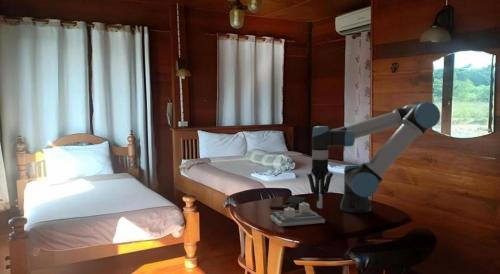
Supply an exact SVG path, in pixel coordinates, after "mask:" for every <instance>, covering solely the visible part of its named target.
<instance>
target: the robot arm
mask: <svg viewBox="0 0 500 274" xmlns="http://www.w3.org/2000/svg"><path fill="white" fill-rule="evenodd" d="M440 119H441V112H440V108H438V106H437V105H436V104H435V103H433V102H429V101H414V102H411V103H409V104H406V105H404V106H401V107H398V108H395V109H393V110H392V111H391V112H389V113H388V112H387V113H385V114H382V115H378V116H375V117H371V118H368V119H365V120H360V121H358V122H355V123H351V124H348V125H345V126H341V127H340V126H339V127H338V128H337V127H335V128H332V129H331V130H330V129H329V126H327V125H324V126H323V125H317V126H313V127H312V135H311V137H312V138H311V147H312V148H311V158H312V159H311V170H310V171H309V172H307V173H306V176H307V178H308V183H309V186H310V191H311V193H312V194H314V195H315V196H314V197H315V201H316V208H318V209H323V202H324V201H325V195H326V194H327V193H328V192H329V188H330V186H331V185H330V184H331V181H332V177H333V175H334V173H333V172H331V171H329V170H330V169H329V168H328V167H329V147H347V148H348V147H353V146H354V145H355V141H356V140H355V139H358V138H361V137H365V136H368V135H372V134H376V133H379V132H382V131H386V130H389V129H392V128H396V127H398V128H397V129H396V130H395V132H394V133H393V134H392V135H391V136H390V137H389V139H387V141H385V143H384V144H383V146H382V147H380V148H379V150H377V152H376V153H375V154H374V155H373V157H372V158H371V159H370V160H369V161H368V162H363V163H361V164H347V165H345V166H344V170H343V172H344V173H343V176H344V180H343V182H344V183H343V189H344V190H343V197H342V199H341V201H340V205H339V206H340V209H339V210H341V211H343V212H346V213H352V214H367V213H370V212H372V205H371V202H370V199H369V197H371V196H373V195H375V194H377V191H378V189H379V184H380V183H381V182H382V181H383V180H384V174H385V173H386V172H387V170H388V169H389V168H390V167H391V166H392V165H393V164H394V163H395V161H396V160H397V159H398V158H399V157H400V156H401V155H402V153H403V152H404V151H406V149H407V148H408V147H409V146H410V145H411V143H413V141H414V140H415V139H416V138H417V137H418V136H423V135H424V134H425V133H426V132H427V131H428V129H430V128H433V127H435V126H437V124H438V123H439V121H440ZM313 176H314V178H313Z"/></svg>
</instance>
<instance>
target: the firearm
mask: <svg viewBox="0 0 500 274" xmlns="http://www.w3.org/2000/svg"><path fill="white" fill-rule="evenodd" d="M306 201H307V197H303V196H289V197H288V200H286V201H284V202H283V203H282V205H281V204H270V205H269V208H272V209H271V210H284V209H285V208H287V207H290V208H293V209H295V210H296V208H297V207H299V206H298V205H299V204H300V203H302V202H306Z"/></svg>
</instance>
